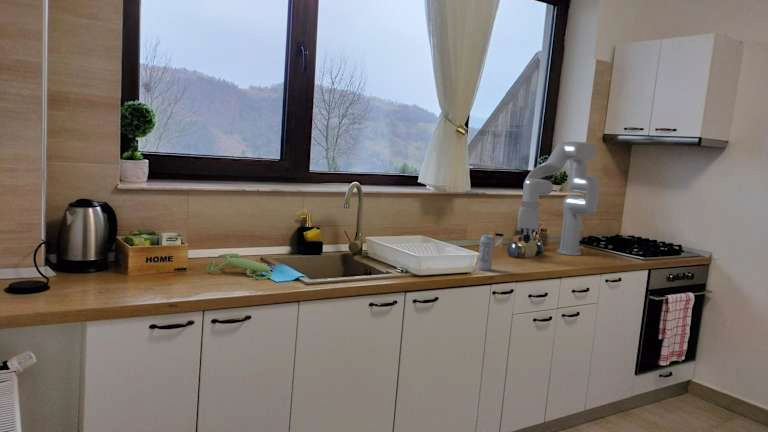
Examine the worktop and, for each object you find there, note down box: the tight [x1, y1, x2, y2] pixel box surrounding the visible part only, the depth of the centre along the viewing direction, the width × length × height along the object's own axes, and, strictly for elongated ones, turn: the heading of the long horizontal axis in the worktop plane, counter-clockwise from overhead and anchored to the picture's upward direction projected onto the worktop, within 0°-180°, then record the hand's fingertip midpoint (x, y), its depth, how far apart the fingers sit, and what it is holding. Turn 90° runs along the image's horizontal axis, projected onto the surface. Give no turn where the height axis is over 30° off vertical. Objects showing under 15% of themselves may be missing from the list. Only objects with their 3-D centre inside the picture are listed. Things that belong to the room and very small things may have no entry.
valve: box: [506, 239, 545, 259], centre depth 302 cm, size 20×7×9 cm, turn 125°
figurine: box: [205, 253, 275, 281], centre depth 225 cm, size 18×27×6 cm
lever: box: [512, 233, 533, 243], centre depth 295 cm, size 4×18×2 cm, turn 146°
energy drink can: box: [477, 234, 495, 272], centre depth 262 cm, size 6×6×15 cm
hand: (526, 242), depth 290 cm, fingers closed
